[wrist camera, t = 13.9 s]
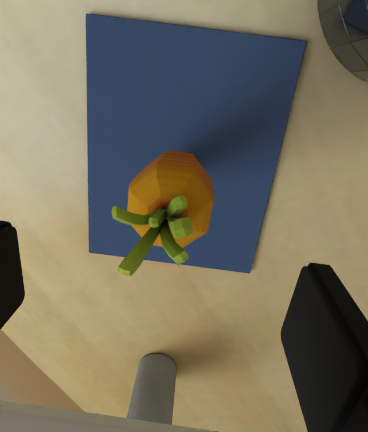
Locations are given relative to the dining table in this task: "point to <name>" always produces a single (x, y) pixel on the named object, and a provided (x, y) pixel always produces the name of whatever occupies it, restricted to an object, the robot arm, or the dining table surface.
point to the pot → (347, 33)
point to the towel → (186, 126)
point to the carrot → (167, 207)
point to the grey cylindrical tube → (154, 390)
